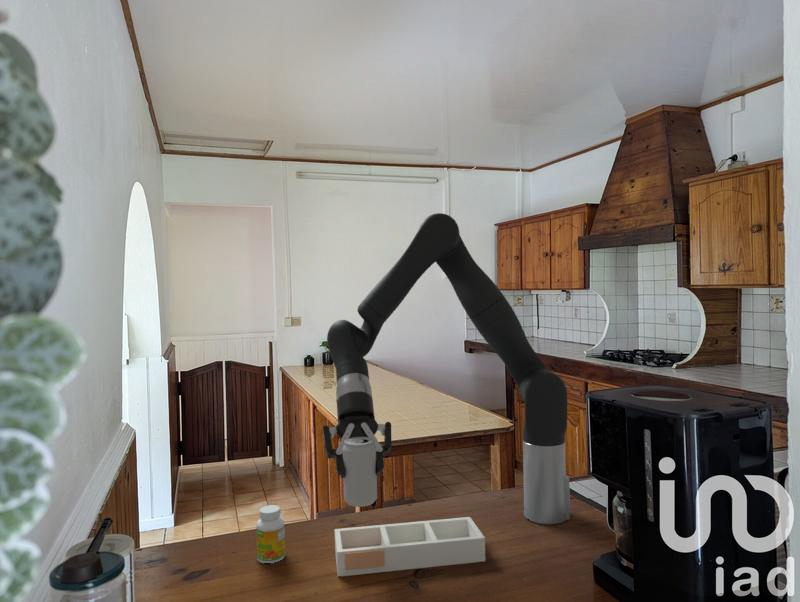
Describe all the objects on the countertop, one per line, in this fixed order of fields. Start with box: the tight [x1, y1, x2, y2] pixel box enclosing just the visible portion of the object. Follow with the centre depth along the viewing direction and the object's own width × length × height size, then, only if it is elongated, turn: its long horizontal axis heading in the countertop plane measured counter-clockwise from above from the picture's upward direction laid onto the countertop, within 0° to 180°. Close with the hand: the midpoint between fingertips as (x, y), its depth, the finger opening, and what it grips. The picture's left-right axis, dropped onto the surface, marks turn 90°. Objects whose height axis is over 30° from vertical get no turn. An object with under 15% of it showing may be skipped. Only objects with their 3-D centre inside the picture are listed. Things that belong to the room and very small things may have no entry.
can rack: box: [334, 516, 486, 577], centre depth 108 cm, size 28×10×4 cm, turn 99°
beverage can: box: [342, 437, 378, 508], centre depth 107 cm, size 6×6×12 cm
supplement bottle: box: [255, 504, 286, 564], centre depth 109 cm, size 5×5×10 cm
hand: (361, 474), depth 105 cm, fingers closed on beverage can, 6 cm apart
